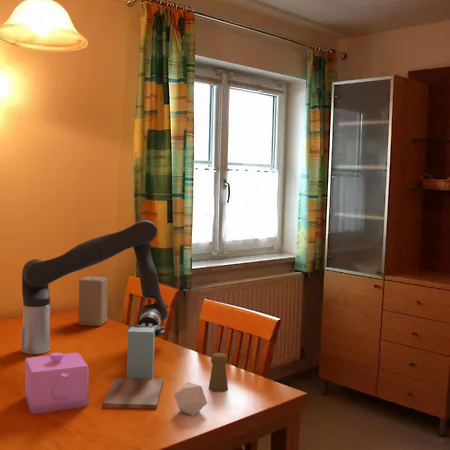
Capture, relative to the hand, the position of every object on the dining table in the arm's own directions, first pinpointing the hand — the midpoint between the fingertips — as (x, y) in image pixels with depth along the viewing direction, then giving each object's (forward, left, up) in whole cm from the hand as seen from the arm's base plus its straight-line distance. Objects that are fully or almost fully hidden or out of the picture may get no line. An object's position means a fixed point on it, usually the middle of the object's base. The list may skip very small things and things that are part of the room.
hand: (143, 337), depth 186 cm
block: (-29, +60, -12) cm, 68 cm away
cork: (+25, -12, -12) cm, 30 cm away
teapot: (-21, -26, -12) cm, 36 cm away
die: (+17, -30, -12) cm, 37 cm away
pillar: (0, -5, -12) cm, 13 cm away
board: (0, -18, -12) cm, 22 cm away
